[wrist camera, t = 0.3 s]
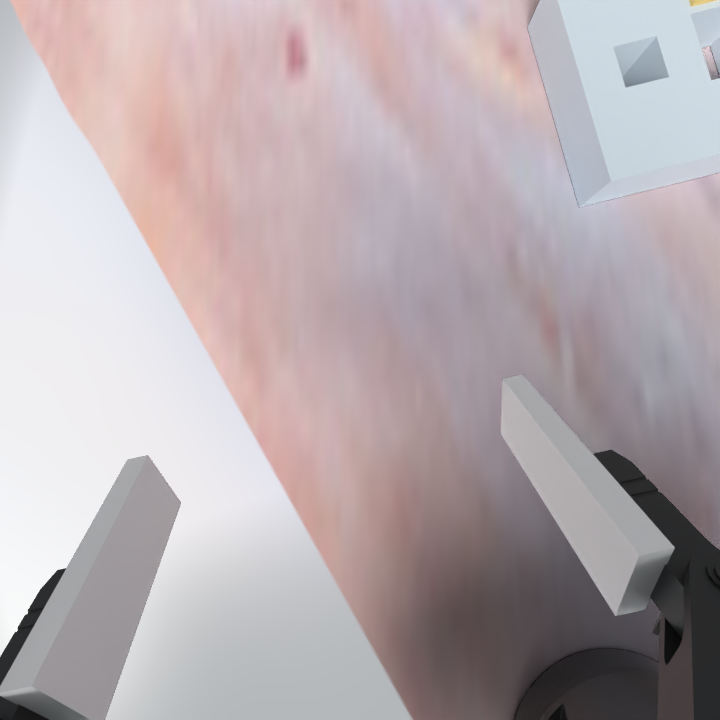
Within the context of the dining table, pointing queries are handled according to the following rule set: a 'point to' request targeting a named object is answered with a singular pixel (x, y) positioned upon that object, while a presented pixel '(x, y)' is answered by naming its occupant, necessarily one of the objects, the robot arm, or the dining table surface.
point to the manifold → (630, 91)
